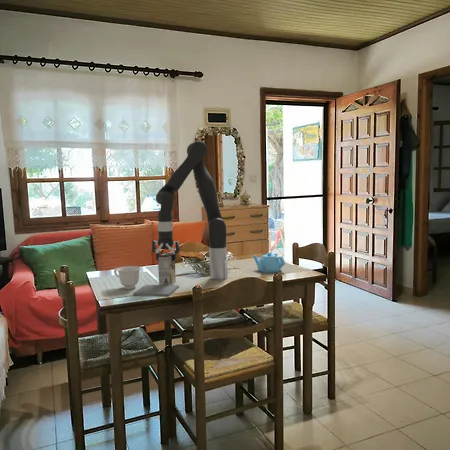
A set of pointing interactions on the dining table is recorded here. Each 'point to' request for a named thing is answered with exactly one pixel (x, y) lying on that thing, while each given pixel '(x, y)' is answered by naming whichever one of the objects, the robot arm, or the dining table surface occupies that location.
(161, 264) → the coffee box
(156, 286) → the mat
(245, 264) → the dining table surface
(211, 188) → the robot arm
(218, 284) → the dining table surface
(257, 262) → the teapot
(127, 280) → the teacup
